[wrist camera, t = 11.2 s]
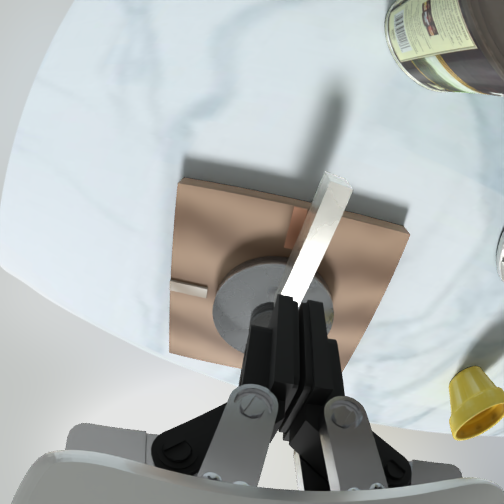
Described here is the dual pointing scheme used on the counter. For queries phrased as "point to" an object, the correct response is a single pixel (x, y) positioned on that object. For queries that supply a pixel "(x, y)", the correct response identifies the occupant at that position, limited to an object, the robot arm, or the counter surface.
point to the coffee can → (449, 43)
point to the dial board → (261, 245)
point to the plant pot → (474, 403)
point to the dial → (283, 271)
